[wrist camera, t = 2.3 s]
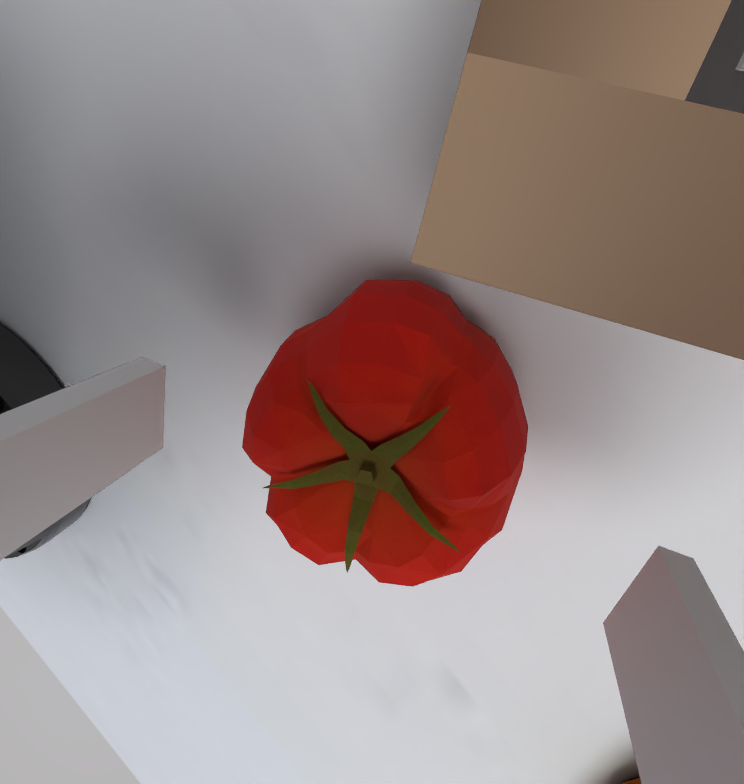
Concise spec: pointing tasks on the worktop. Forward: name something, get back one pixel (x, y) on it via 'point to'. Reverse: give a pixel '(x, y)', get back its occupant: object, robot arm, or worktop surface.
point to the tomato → (389, 434)
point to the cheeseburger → (633, 781)
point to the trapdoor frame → (595, 168)
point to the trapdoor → (741, 64)
